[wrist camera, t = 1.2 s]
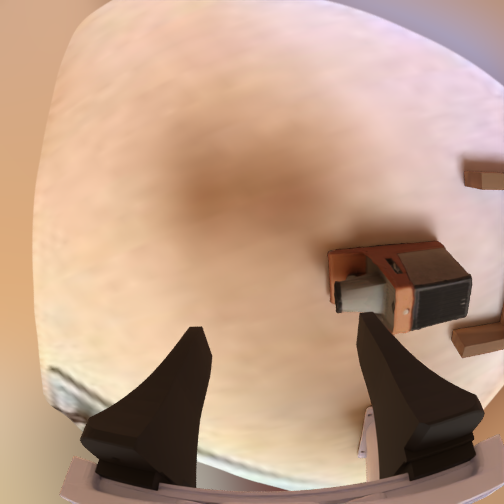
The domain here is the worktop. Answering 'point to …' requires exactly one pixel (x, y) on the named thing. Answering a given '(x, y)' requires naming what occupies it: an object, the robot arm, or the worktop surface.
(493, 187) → the cradle
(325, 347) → the worktop surface
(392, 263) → the electronic device
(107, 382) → the worktop surface
